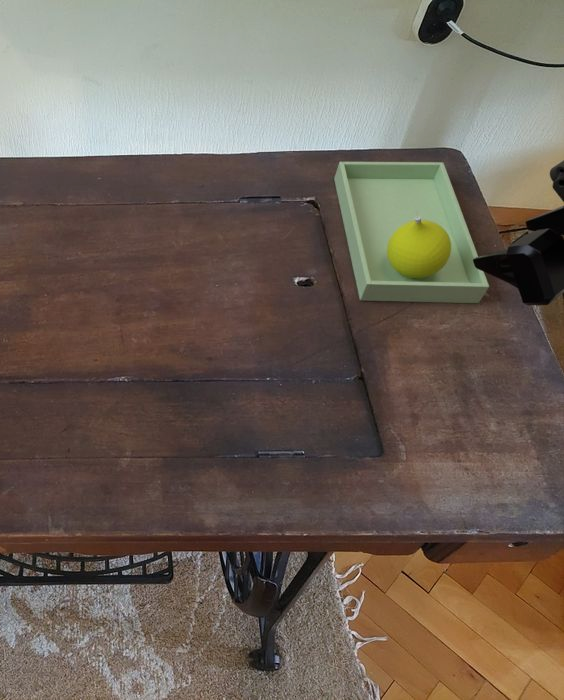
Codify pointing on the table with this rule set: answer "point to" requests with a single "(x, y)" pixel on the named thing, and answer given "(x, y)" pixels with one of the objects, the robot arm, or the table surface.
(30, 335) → the table surface
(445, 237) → the ornament
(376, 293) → the pale green tray
